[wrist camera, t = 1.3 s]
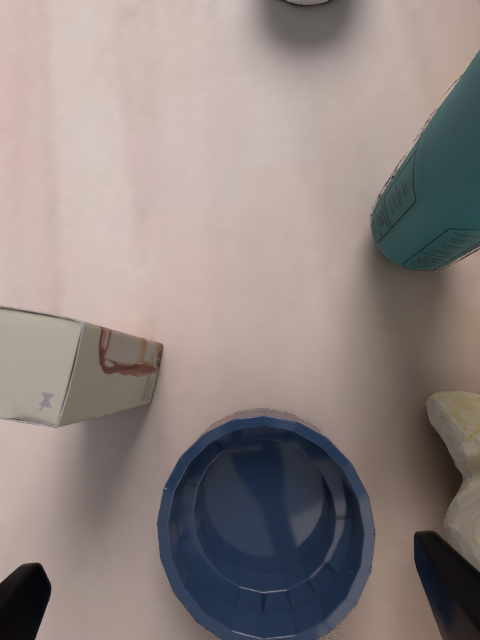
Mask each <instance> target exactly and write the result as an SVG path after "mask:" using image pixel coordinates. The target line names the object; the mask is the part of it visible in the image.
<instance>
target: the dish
mask: <svg viewBox="0 0 480 640" xmlns="http://www.w3.org/2000/svg"><path fill="white" fill-rule="evenodd" d="M157 521H158V522H157V527H158V538H159V549H160V558H161V562H162V564H163V567H164V569H165V572H166V574H167V577H168V580H169V582H170V585H171V587H172V590H173V592H174V593H175V595H176V597H177V598H178V599H179V600H180V602H181V603H182V604H183V605H184V607H185V608H186V609H187V610H188V612H189V613H190V614H191V615H192V617H193V618H194V619H195V621H196V622H198V624H200V625H201V626H203V627H204V628H206V629H207V630H209V631H210V632H212V633H213V634H215V635H216V636H218V637H219V638H221V639H222V640H316V639H318V638H320V637H322V636H324V635H326V634H328V633H330V631H333V629H334V628H335V627H336V626H337V625H338V624H339V623H340V622H341V621H342V620H343V619H344V618H345V617H346V616H347V614H348V613H349V612H350V611H351V610H352V609H353V608H354V607H355V605H357V602H358V600H359V598H360V596H361V593H362V591H363V589H364V587H365V584H366V582H367V580H368V578H369V576H370V573H371V569H372V560H373V551H374V541H375V528H374V522H373V517H372V512H371V506H370V501H369V497H368V494H367V492H366V490H365V488H364V486H363V484H362V482H361V480H360V478H359V476H358V474H357V473H356V471H355V469H354V467H353V465H352V464H351V462H350V461H349V460H348V459H347V458H346V457H345V456H344V455H343V454H342V453H341V452H340V451H339V450H338V448H337V447H336V446H335V445H334V444H333V443H332V442H331V441H330V440H329V439H328V438H327V437H326V436H325V435H324V434H323V433H322V432H321V431H320V430H319V429H318V428H317V427H315V426H314V425H312V424H310V423H308V422H306V421H305V420H303V419H301V418H299V417H297V416H296V415H294V414H291V413H288V412H282V411H277V410H272V409H267V408H265V409H264V408H260V409H253V410H245V411H238V412H235V413H233V414H231V415H229V416H227V417H225V418H223V419H221V420H219V421H217V422H215V423H213V424H212V425H211V426H210V427H209V428H208V429H207V430H206V431H205V432H204V433H203V434H202V435H201V436H200V437H199V438H198V439H197V440H196V441H195V442H194V443H193V444H192V445H191V446H190V447H189V448H188V449H187V450H186V451H185V452H184V453H183V454H182V456H181V457H180V458H179V460H178V462H177V464H176V466H175V468H174V469H173V471H172V473H171V475H170V477H169V479H168V481H167V483H166V485H165V487H164V490H163V495H162V500H161V505H160V510H159V515H158V520H157Z"/></svg>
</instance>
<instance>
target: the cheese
mask: <svg viewBox="0 0 480 640" xmlns="http://www.w3.org/2000/svg"><path fill="white" fill-rule="evenodd" d="M426 407H427V412H428V416H429V421H430V423H431V425H432V426H433V427H434V428H435V430H436V431H437V432H438V433H439V435H440V436H441V438H442V439H443V441H444V442H445V444H446V446H447V448H448V451H449V453H450V455H451V457H452V458H453V460H454V461H455V467H456V468H457V469H458V470H459V471H460V472H461V474H462V476H463V482H462V484H461V486H460V489H459V491H458V493H457V494H456V496H455V497H454V499H453V500H452V502H451V503H450V505H449V507H448V509H447V512H446V518H445V519H444V520H443V524H444V531H445V535H446V538H447V541H448V543H449V544H450V545H451V546H452V547H453V548H454V549H455V550H456V551H457V552H458V553H460V554H461V555H462V556H463V557H464V558H465V559H466V560H467V561H468V562H469V563H471V564H472V565H473V566H474V567H475V568H476V569H477V570H478V571H479V572H480V394H476V393H471V392H466V391H454V390H450V391H440V392H437V393H435V394H432V395H431V396H430V397H429V398H428V401H427V402H426Z"/></svg>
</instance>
